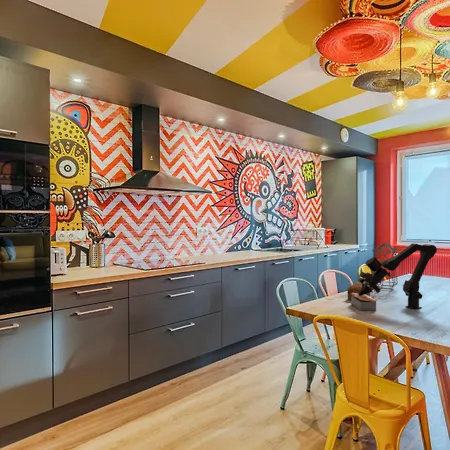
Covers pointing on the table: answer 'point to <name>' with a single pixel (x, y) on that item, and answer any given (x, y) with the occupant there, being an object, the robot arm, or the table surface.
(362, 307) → the storage box
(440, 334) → the table surface
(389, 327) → the table surface
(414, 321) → the table surface
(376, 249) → the geometric lantern
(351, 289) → the bread
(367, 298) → the lid
